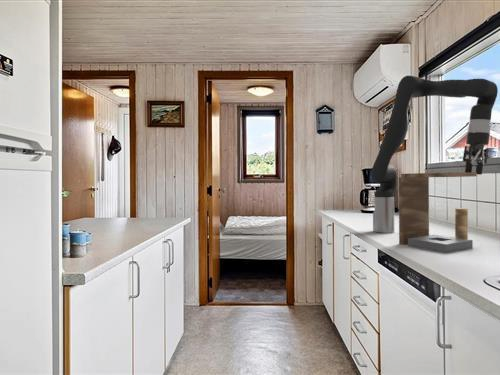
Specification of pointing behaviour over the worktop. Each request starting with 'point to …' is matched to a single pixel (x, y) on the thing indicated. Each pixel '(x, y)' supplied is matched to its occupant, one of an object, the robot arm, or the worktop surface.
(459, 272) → the worktop surface
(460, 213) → the wooden peg
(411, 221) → the wooden l bracket
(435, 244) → the socket plate
